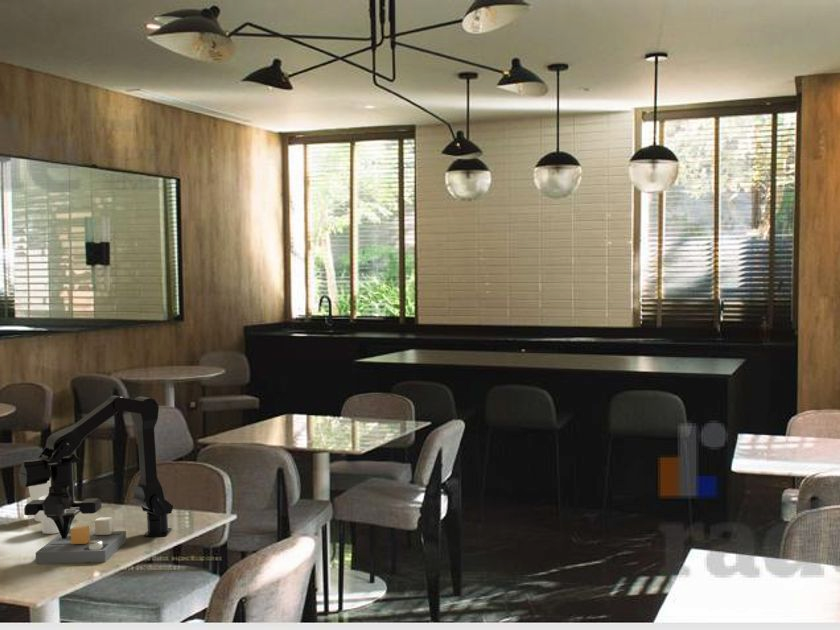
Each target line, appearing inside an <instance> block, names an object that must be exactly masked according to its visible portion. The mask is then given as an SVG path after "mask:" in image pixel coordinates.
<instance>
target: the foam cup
mask: <svg viewBox="0 0 840 630" xmlns="http://www.w3.org/2000/svg"><path fill="white" fill-rule="evenodd" d="M50 486H51V480H50V481H47V483H46V484H41V485H35V486H30V487H28V492H29V498H30V502H31V501H32V500H38V499H39V498H40V497H42V496H46V495H48V494H49V487H50ZM33 518H34V521H36V522H41V520H40V511H39V512H38V513H37V514H36V515H33Z"/></svg>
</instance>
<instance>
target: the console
mask: <svg viewBox="0 0 840 630" xmlns="http://www.w3.org/2000/svg"><path fill="white" fill-rule="evenodd" d="M94 540H102V541H103V550H89V542H90V541H94ZM90 541H89V542H87V543H86V544H71V534H68V535H67V538H66V539H62V537H61V535H60V533H59V534H58V535H56V536H55V537H54V538H52V539H51V540H50V541H49V542H48V543H46V544H45V545H44V546H42V547H41V548H39V550H37V551H36V552H35V564H36V565H46V564H48V565H49V564H50V565H52V564H53V565H55V564H83V563H85V564H87V563H86V562H90V563H106V562H107V561H108V560H109V559H110V558H111V557H112V556H113V555H114V554H115V553H117V551H119V549H120V548H121V547H122V546H123V545H124V544H126V543H127V531H126V530H113V532H112V533H111V534H110V535H95V531H90ZM121 545H122V546H121ZM120 546H121V547H120ZM119 547H120V548H119ZM118 548H119V549H118ZM116 550H117V551H116ZM113 553H114V554H113Z"/></svg>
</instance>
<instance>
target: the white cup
mask: <svg viewBox="0 0 840 630" xmlns="http://www.w3.org/2000/svg"><path fill="white" fill-rule="evenodd" d="M47 496H48V495H46V496H42V497H40V498H39V499H38V500H45V499H46V497H47ZM65 513H66V512H65ZM40 520H41V521H40V525H41V526H40V527H41V533H42V534H47V535H50V534H51V535H53V534H58V533H59V534H60V532H59V530H58V528H57V526H56V524H55V522H54V521H53V520H52V519H51V518H47V517H46V515H45V514H44V511H40Z"/></svg>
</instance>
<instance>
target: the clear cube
mask: <svg viewBox="0 0 840 630" xmlns="http://www.w3.org/2000/svg"><path fill="white" fill-rule="evenodd" d="M89 550H103V541H102V540H94V541H90V542H89Z"/></svg>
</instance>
